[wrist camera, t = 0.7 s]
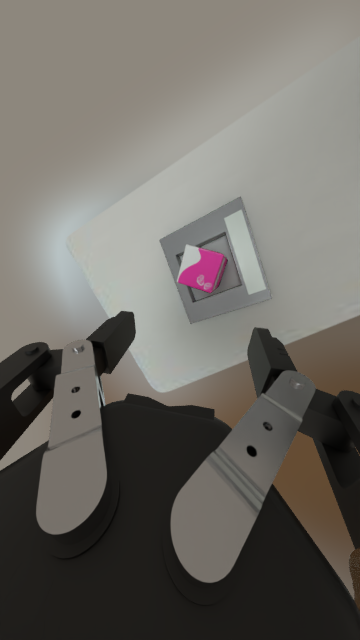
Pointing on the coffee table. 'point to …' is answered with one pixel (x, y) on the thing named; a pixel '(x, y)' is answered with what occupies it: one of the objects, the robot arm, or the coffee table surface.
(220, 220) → the divided tray
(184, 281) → the supplement box
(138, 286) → the coffee table surface
